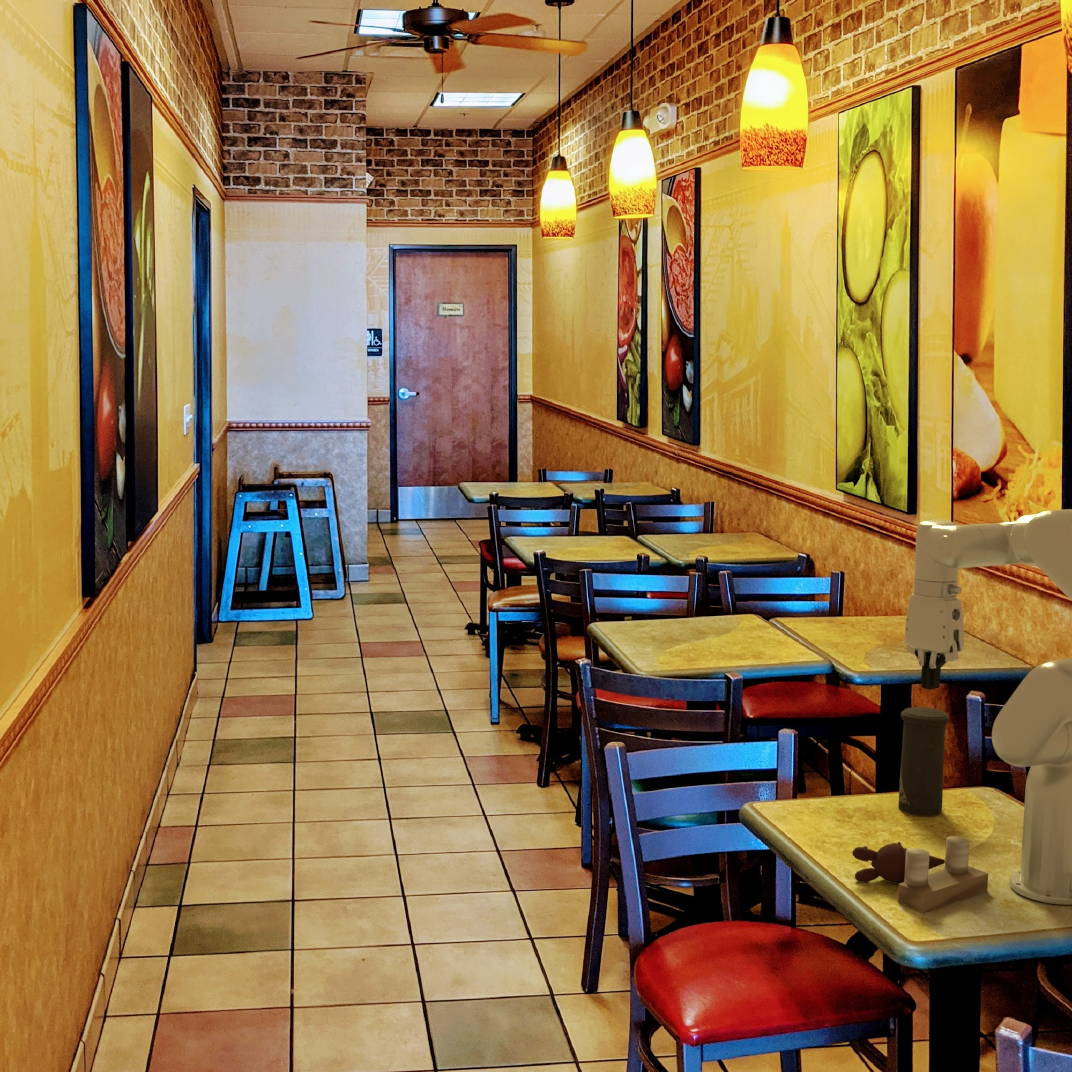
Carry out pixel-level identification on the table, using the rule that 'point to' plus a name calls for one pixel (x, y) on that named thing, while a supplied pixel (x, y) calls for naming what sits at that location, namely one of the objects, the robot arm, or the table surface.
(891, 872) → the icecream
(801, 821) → the table surface
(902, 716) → the container
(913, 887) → the rail
